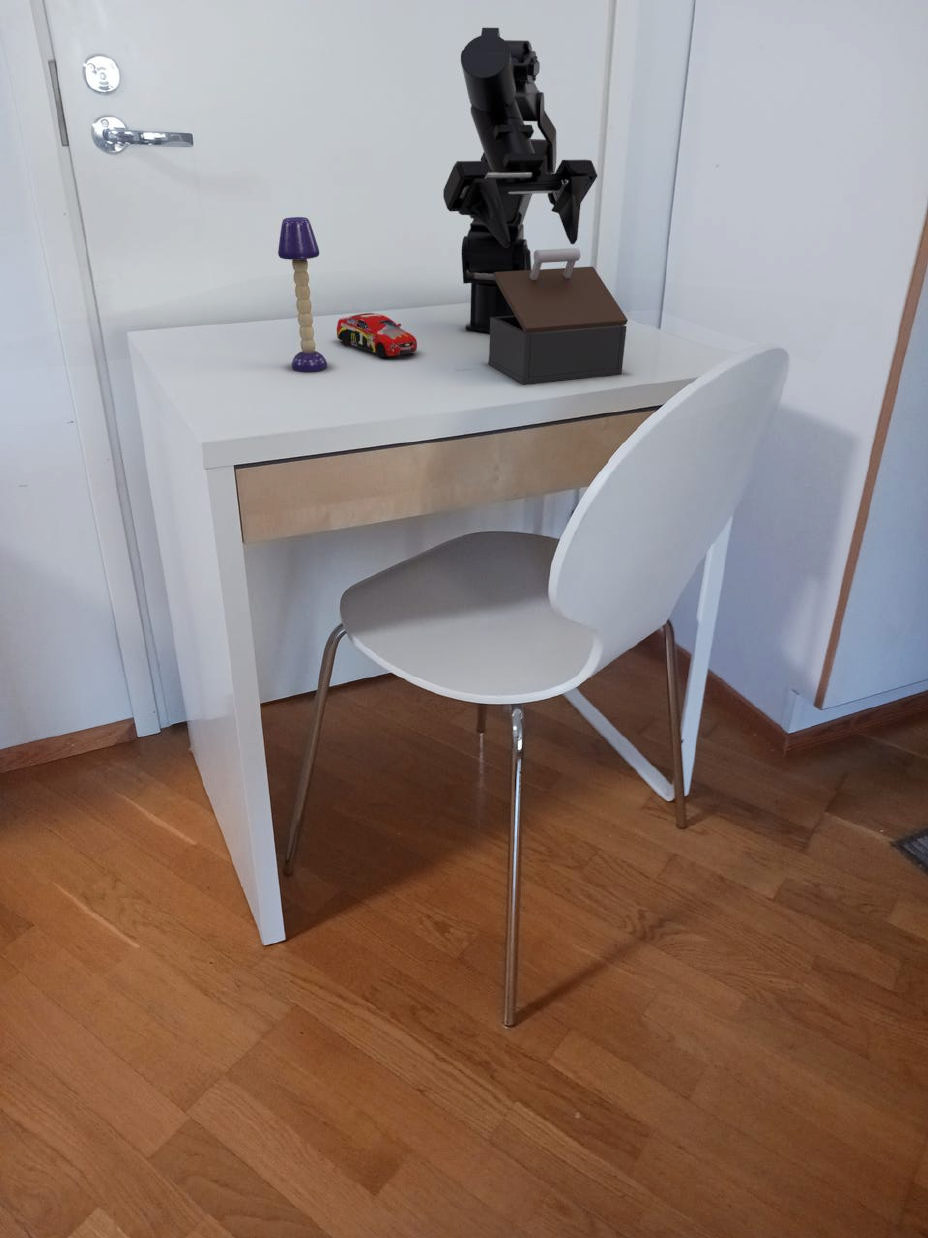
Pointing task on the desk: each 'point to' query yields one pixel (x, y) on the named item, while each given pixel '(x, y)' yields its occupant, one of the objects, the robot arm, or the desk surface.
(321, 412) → the desk surface
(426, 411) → the desk surface
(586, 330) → the dark grey box
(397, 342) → the race car
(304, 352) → the toy lamp
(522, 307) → the lid
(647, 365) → the desk surface
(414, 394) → the desk surface
